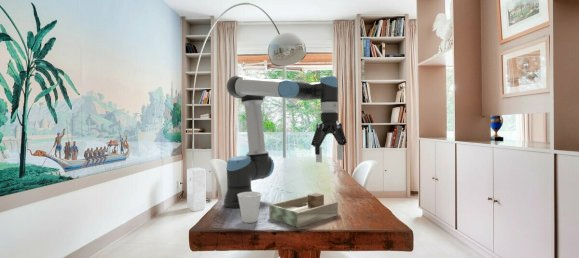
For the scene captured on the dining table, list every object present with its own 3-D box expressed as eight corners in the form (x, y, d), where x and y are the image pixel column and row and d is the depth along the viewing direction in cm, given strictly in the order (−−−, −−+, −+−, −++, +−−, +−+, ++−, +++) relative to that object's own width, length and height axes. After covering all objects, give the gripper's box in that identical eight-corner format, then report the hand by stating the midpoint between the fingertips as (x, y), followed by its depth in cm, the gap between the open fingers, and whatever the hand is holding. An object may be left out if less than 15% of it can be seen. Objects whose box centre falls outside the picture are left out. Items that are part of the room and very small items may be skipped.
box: (269, 217, 133) (269, 204, 133) (308, 207, 149) (308, 195, 149) (298, 227, 120) (298, 213, 120) (337, 214, 136) (337, 202, 136)
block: (307, 206, 140) (307, 194, 140) (315, 204, 143) (315, 192, 143) (316, 208, 136) (316, 196, 136) (323, 206, 139) (323, 194, 139)
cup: (258, 225, 123) (257, 197, 123) (233, 224, 125) (233, 196, 125) (265, 217, 133) (264, 191, 133) (242, 216, 135) (242, 191, 135)
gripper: (315, 111, 127) (315, 164, 128) (354, 112, 143) (354, 159, 144) (302, 112, 133) (303, 162, 133) (341, 112, 149) (341, 157, 150)
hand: (329, 160), depth 139 cm, fingers open, 13 cm apart
